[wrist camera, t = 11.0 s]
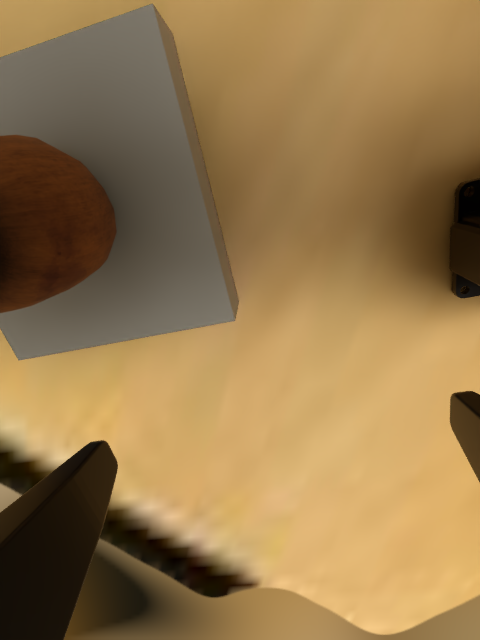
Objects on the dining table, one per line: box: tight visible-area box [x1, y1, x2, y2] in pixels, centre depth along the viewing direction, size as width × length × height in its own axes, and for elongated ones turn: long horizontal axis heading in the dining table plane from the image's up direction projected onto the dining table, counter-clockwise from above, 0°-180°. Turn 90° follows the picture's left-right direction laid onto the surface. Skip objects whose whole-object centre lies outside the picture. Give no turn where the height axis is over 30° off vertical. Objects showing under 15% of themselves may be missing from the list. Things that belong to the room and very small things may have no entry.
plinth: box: [0, 4, 239, 360], centre depth 18 cm, size 14×14×3 cm
